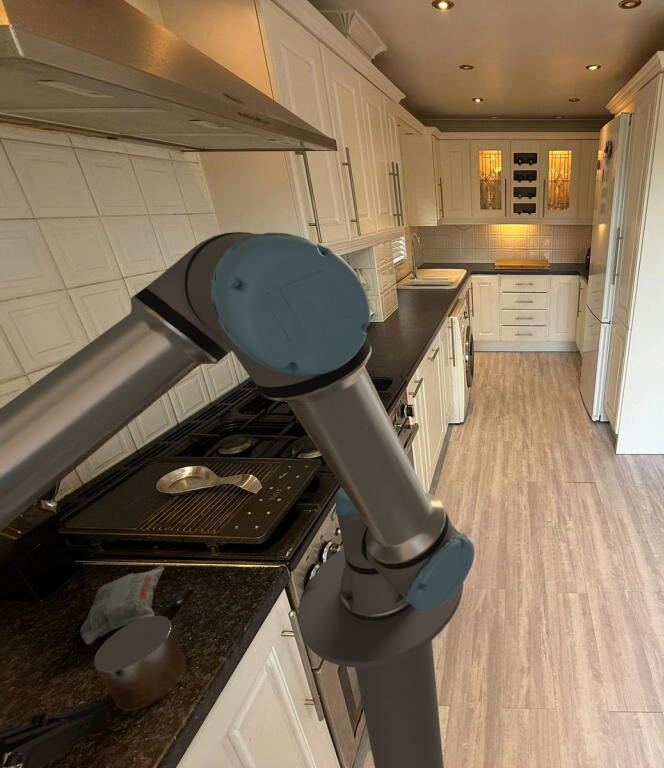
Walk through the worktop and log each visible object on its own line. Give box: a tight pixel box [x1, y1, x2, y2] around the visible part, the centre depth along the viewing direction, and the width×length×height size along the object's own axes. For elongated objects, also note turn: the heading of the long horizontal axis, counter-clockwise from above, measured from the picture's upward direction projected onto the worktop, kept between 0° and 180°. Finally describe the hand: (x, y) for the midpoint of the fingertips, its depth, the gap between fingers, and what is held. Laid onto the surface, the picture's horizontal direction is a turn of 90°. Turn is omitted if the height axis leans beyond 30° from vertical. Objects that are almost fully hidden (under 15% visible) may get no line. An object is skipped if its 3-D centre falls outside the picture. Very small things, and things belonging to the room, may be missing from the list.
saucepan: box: [93, 586, 194, 712], centre depth 60 cm, size 8×15×8 cm, turn 3°
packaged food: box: [79, 565, 165, 645], centre depth 68 cm, size 9×12×5 cm
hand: (101, 713), depth 51 cm, fingers closed
